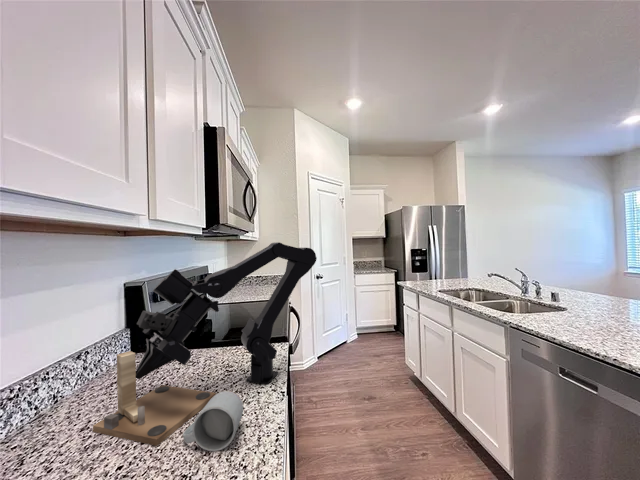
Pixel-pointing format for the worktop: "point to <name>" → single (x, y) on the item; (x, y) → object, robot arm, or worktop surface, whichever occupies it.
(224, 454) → the worktop surface
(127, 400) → the hinged leg
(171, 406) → the stool seat
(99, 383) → the worktop surface
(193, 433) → the ceramic mug
